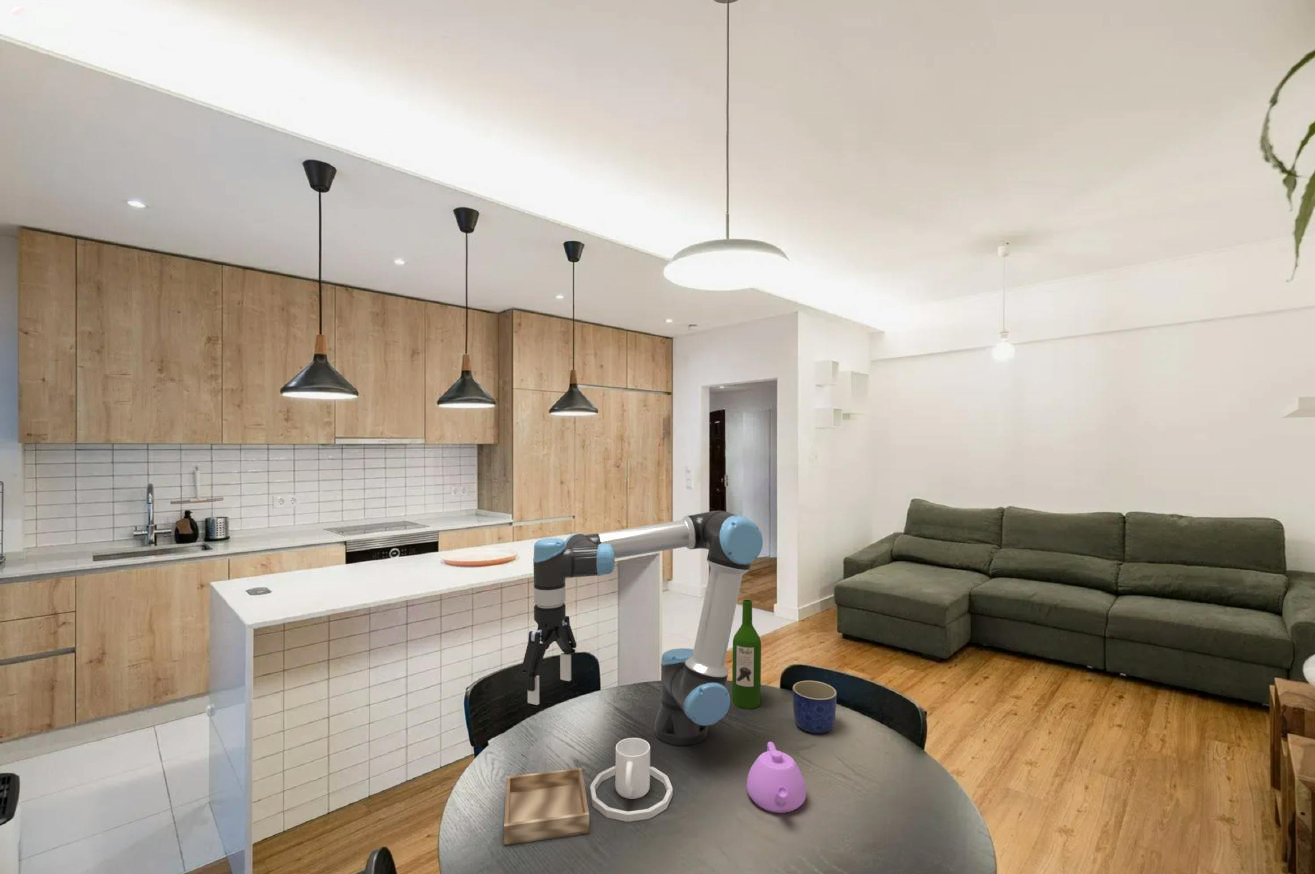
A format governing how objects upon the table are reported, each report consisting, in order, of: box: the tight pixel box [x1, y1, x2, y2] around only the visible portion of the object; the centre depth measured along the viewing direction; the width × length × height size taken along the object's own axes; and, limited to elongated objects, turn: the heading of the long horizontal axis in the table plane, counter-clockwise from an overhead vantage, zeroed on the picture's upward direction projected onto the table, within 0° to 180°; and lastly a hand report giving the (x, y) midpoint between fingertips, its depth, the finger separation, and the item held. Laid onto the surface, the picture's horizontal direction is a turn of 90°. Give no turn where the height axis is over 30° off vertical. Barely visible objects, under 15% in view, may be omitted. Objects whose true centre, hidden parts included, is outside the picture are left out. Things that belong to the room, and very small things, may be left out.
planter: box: [792, 680, 838, 734], centre depth 170 cm, size 12×12×11 cm
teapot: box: [746, 741, 807, 814], centre depth 136 cm, size 14×20×11 cm
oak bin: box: [503, 767, 590, 846], centre depth 131 cm, size 18×18×4 cm
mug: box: [614, 737, 651, 800], centre depth 138 cm, size 12×8×10 cm
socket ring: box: [589, 765, 674, 823], centre depth 138 cm, size 19×19×2 cm
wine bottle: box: [731, 598, 762, 710], centre depth 184 cm, size 9×9×32 cm
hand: (550, 691), depth 141 cm, fingers open, 13 cm apart
